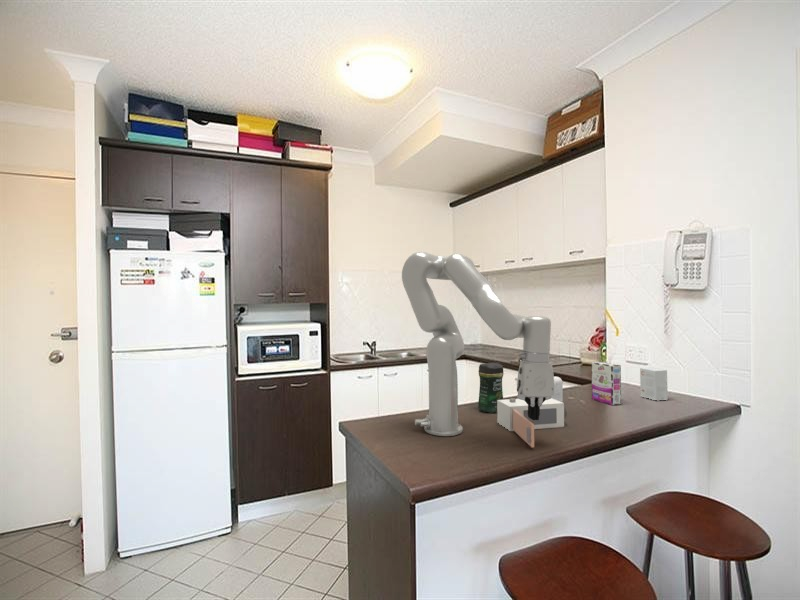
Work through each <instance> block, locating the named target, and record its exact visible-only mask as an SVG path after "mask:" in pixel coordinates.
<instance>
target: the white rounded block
mask: <svg viewBox="0 0 800 600" xmlns="http://www.w3.org/2000/svg"><path fill="white" fill-rule="evenodd" d="M563 385H564V384H563V380H562V378H561V377H559V376H554V395H553V396H551V398H552V399H555V400H557V401H560V402H562V403H564V402H563V401H564V400H563V396H564V395H563Z"/></svg>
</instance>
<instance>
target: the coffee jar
mask: <svg viewBox="0 0 800 600" xmlns="http://www.w3.org/2000/svg"><path fill="white" fill-rule="evenodd" d="M504 374H505V373H504V366H503V364H502V363H498V362H488V363H481V364H479V365H478V376H479V393H478V404H477V405H478V410H479V411H480V412H484V413H497V400H504V393H503V392H504V391H503V377H504Z"/></svg>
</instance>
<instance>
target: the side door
mask: <svg viewBox="0 0 800 600" xmlns="http://www.w3.org/2000/svg"><path fill="white" fill-rule="evenodd" d="M512 429H513V430H514V431H513V432H515V433H516V434H517V435H518V436H519V437H520V438H521V439H522V440H523V441H524V442H525V443H527V444H528V446H529V447H530V448H535V429H534V424H533V423H532V422H530V421H529V420H528V419H527V418H525V417H524V416H523V415H522V414H520V413H519V412H518V411H517V410H515V409H512Z"/></svg>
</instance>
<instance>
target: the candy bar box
mask: <svg viewBox="0 0 800 600" xmlns="http://www.w3.org/2000/svg"><path fill="white" fill-rule="evenodd" d="M621 367H622V365H620V364H615V363H611V362H609V363H608V362H602V361H592V362H591V400H593V399H594V400H593V401H596V400H597V401H596V402H599V401H600V402H599V403H603V404H606V403H607V404H606V405H610V406H618V405H620V404H621V405H622V379H621V378H622V376H621V375H622V373H621V372H622V371H621Z"/></svg>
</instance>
